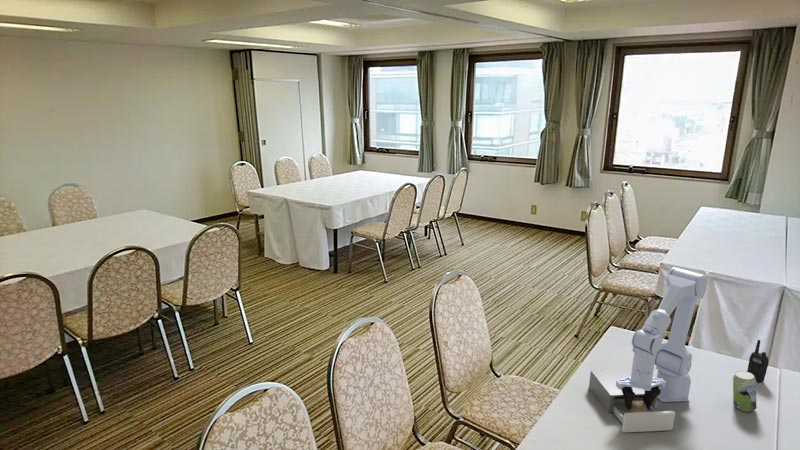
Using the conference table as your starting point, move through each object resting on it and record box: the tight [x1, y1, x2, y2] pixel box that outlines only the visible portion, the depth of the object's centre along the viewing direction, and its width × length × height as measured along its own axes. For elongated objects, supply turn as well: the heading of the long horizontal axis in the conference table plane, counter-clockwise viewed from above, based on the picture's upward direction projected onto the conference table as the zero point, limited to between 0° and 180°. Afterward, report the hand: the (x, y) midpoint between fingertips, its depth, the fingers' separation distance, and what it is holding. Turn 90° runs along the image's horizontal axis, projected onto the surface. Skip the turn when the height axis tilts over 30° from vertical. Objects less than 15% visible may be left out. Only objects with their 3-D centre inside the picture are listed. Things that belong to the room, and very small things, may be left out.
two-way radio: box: [746, 339, 769, 384], centre depth 167 cm, size 6×4×15 cm
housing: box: [588, 368, 657, 414], centre depth 157 cm, size 15×14×6 cm
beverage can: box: [732, 370, 758, 412], centre depth 152 cm, size 6×7×12 cm
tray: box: [612, 396, 676, 433], centre depth 148 cm, size 15×14×6 cm
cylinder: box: [627, 399, 647, 413], centre depth 148 cm, size 5×5×4 cm
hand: (637, 407), depth 148 cm, fingers open, 5 cm apart
